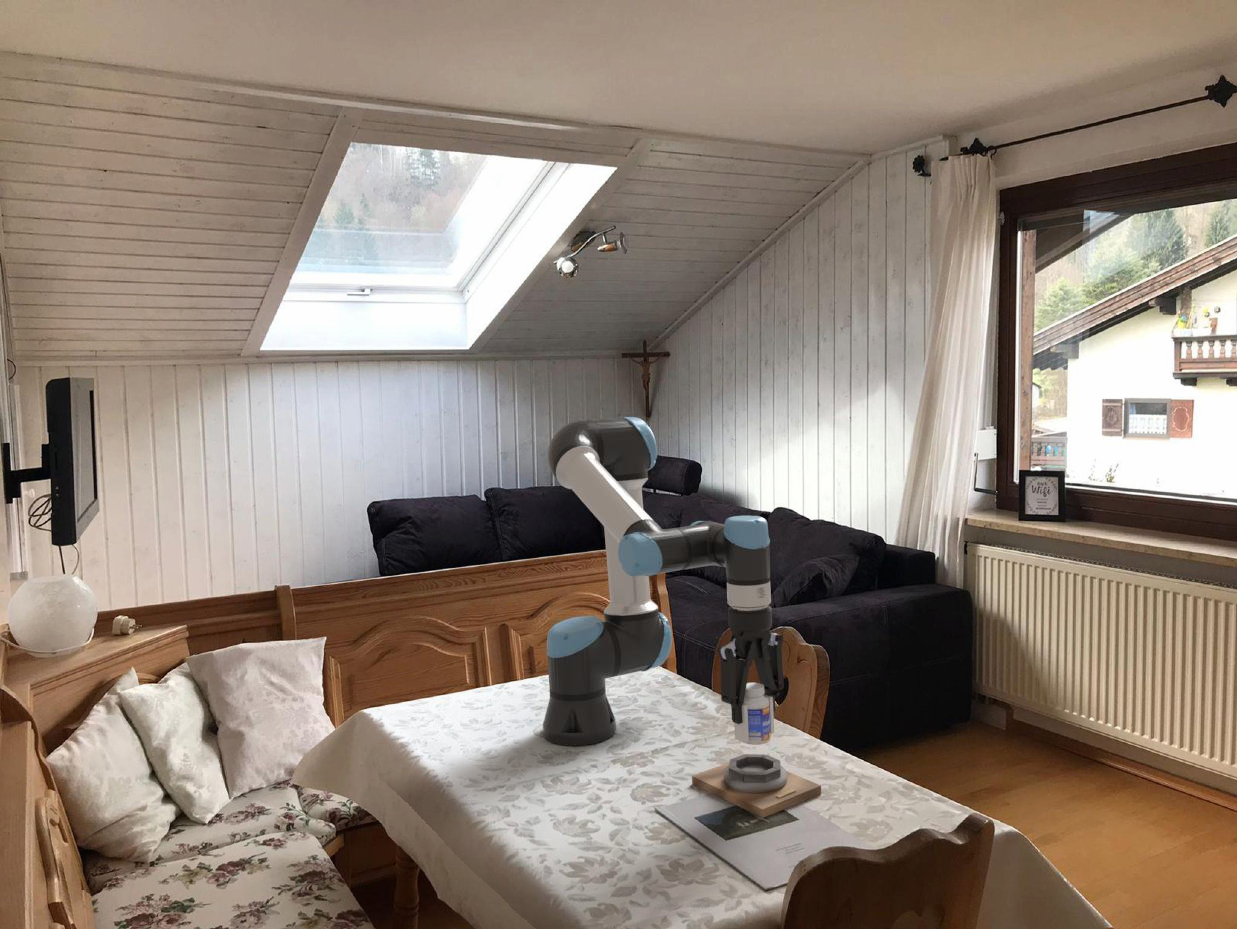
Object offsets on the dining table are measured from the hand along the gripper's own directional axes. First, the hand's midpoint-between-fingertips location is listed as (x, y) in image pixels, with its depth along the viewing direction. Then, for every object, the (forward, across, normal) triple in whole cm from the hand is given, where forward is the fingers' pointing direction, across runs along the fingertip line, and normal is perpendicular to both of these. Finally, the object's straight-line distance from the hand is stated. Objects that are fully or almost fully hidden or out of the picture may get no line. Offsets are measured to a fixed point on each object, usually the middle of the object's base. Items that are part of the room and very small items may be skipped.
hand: (754, 735), depth 173 cm
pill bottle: (+1, 0, 0) cm, 1 cm away
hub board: (+10, 0, 0) cm, 10 cm away
